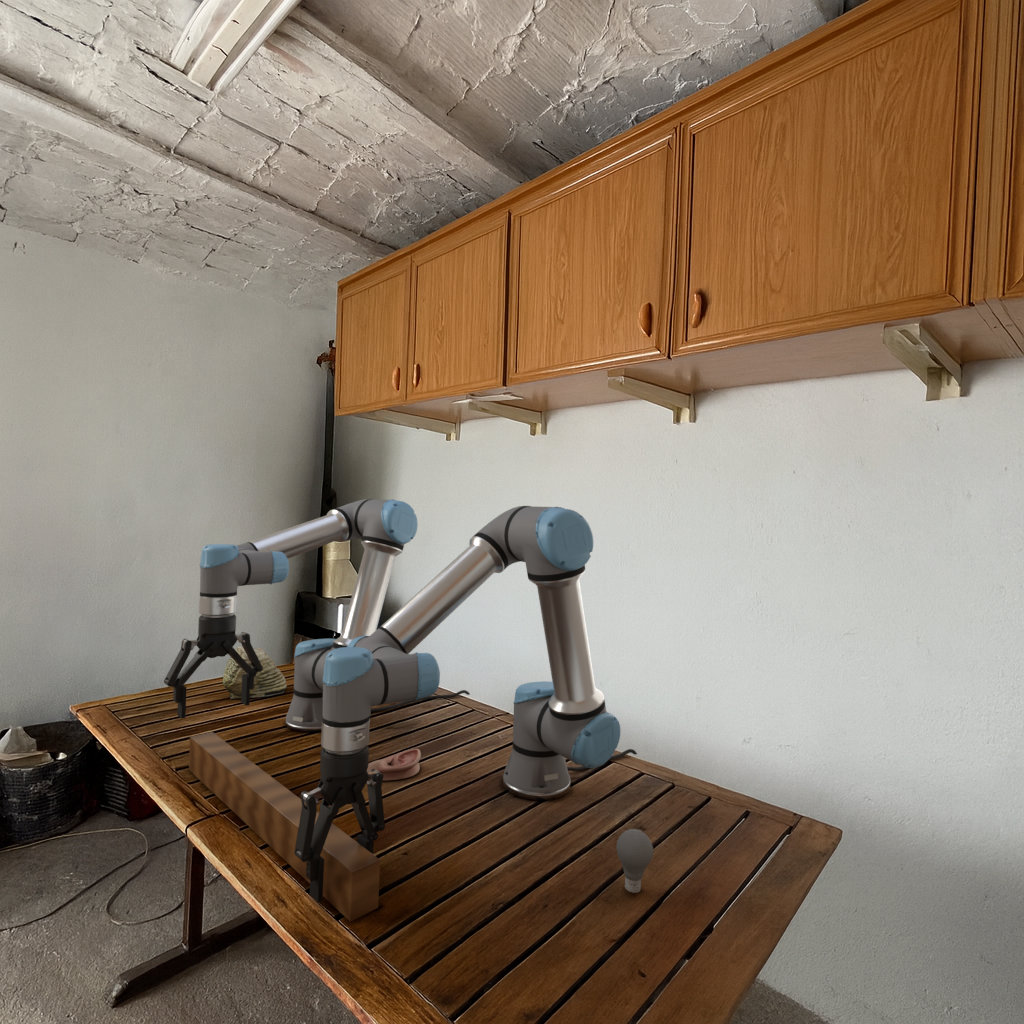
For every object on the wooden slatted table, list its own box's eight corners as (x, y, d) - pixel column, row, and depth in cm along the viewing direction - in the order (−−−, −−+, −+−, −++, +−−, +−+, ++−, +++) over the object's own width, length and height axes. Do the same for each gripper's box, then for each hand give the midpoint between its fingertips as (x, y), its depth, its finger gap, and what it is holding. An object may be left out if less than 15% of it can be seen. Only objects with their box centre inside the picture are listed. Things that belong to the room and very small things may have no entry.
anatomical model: (353, 759, 143) (374, 741, 154) (352, 777, 143) (373, 757, 154) (408, 767, 140) (426, 748, 152) (408, 785, 140) (425, 764, 152)
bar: (188, 769, 144) (189, 736, 144) (211, 764, 147) (212, 731, 147) (350, 921, 95) (352, 871, 95) (378, 907, 99) (380, 859, 99)
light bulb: (610, 879, 108) (613, 822, 108) (644, 879, 109) (647, 822, 109) (619, 902, 102) (622, 840, 102) (655, 901, 103) (658, 840, 103)
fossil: (218, 695, 195) (220, 647, 195) (278, 685, 208) (279, 640, 207) (228, 703, 189) (230, 653, 188) (289, 692, 201) (290, 645, 201)
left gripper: (161, 623, 128) (157, 727, 129) (279, 611, 146) (276, 703, 146) (149, 617, 133) (146, 717, 134) (265, 606, 151) (262, 695, 152)
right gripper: (296, 771, 92) (290, 927, 92) (411, 738, 106) (405, 872, 107) (272, 755, 97) (267, 902, 97) (385, 725, 111) (380, 853, 112)
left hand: (214, 710), depth 140 cm, fingers open, 13 cm apart
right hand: (339, 886), depth 102 cm, fingers open, 8 cm apart
